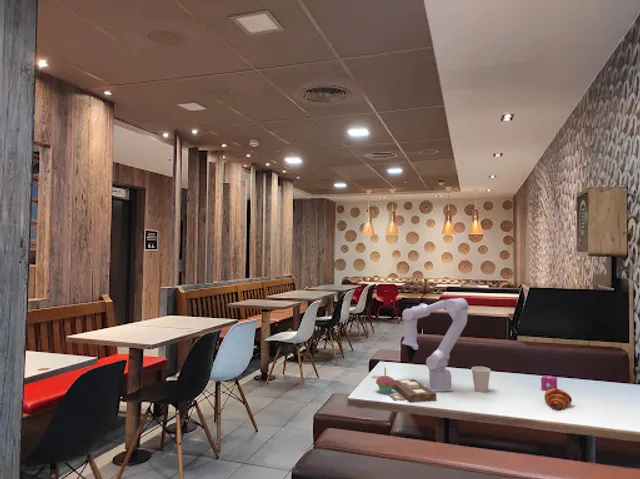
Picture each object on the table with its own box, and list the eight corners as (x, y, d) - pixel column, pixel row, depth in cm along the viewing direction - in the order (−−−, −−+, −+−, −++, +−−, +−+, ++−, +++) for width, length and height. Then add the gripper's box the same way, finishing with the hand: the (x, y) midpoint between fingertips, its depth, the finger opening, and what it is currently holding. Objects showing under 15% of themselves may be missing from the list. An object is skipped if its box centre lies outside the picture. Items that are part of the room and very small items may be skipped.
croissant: (551, 404, 200) (542, 387, 203) (574, 396, 196) (564, 378, 199) (548, 417, 182) (538, 398, 184) (574, 409, 178) (562, 389, 180)
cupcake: (394, 395, 201) (394, 367, 201) (375, 394, 202) (375, 366, 203) (395, 390, 209) (395, 363, 210) (376, 389, 211) (376, 362, 211)
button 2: (421, 396, 199) (421, 389, 199) (426, 399, 194) (426, 392, 194) (412, 396, 198) (412, 389, 198) (416, 399, 193) (416, 392, 194)
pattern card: (399, 394, 202) (399, 393, 202) (405, 400, 194) (405, 399, 194) (388, 395, 201) (388, 394, 201) (394, 400, 193) (394, 399, 193)
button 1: (408, 386, 214) (408, 380, 214) (411, 389, 210) (411, 382, 210) (399, 386, 213) (399, 380, 214) (402, 389, 209) (402, 382, 209)
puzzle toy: (541, 390, 210) (541, 377, 211) (543, 387, 215) (543, 375, 215) (555, 392, 207) (554, 379, 207) (557, 389, 212) (557, 377, 212)
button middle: (414, 388, 206) (414, 381, 207) (418, 391, 202) (418, 384, 202) (405, 388, 206) (405, 382, 206) (409, 391, 201) (409, 384, 202)
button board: (414, 385, 217) (414, 379, 217) (436, 400, 193) (436, 393, 193) (390, 386, 214) (390, 380, 215) (409, 402, 191) (409, 394, 191)
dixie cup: (480, 394, 204) (480, 371, 204) (467, 389, 211) (467, 367, 212) (494, 392, 207) (494, 369, 207) (481, 387, 214) (481, 365, 215)
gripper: (397, 331, 228) (397, 358, 228) (408, 336, 214) (408, 365, 214) (410, 330, 230) (410, 358, 229) (422, 335, 215) (422, 364, 215)
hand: (410, 361), depth 221 cm, fingers closed
